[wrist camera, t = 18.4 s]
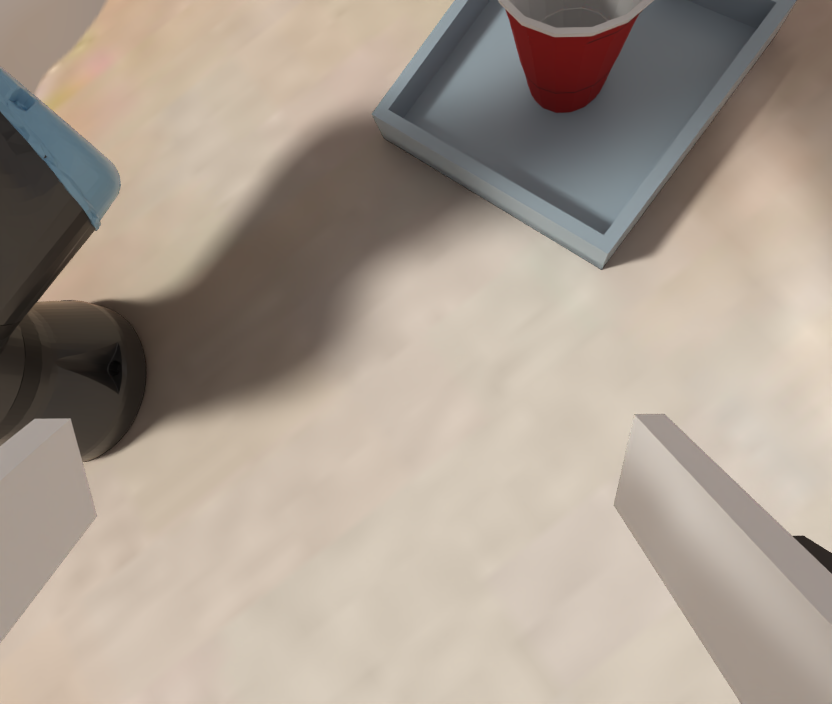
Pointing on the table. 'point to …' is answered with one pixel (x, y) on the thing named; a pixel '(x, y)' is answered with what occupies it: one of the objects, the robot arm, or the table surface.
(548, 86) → the plastic cup
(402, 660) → the table surface
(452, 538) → the table surface
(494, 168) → the tray
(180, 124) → the table surface
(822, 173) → the table surface
